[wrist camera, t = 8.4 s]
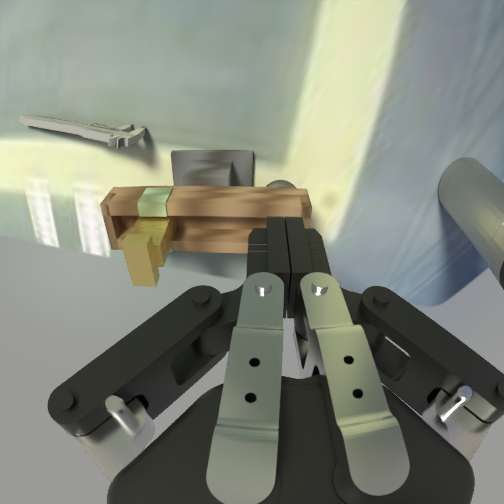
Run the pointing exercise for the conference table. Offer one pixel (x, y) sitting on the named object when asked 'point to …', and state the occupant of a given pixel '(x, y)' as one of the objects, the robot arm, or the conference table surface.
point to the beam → (206, 202)
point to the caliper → (89, 130)
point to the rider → (148, 248)
